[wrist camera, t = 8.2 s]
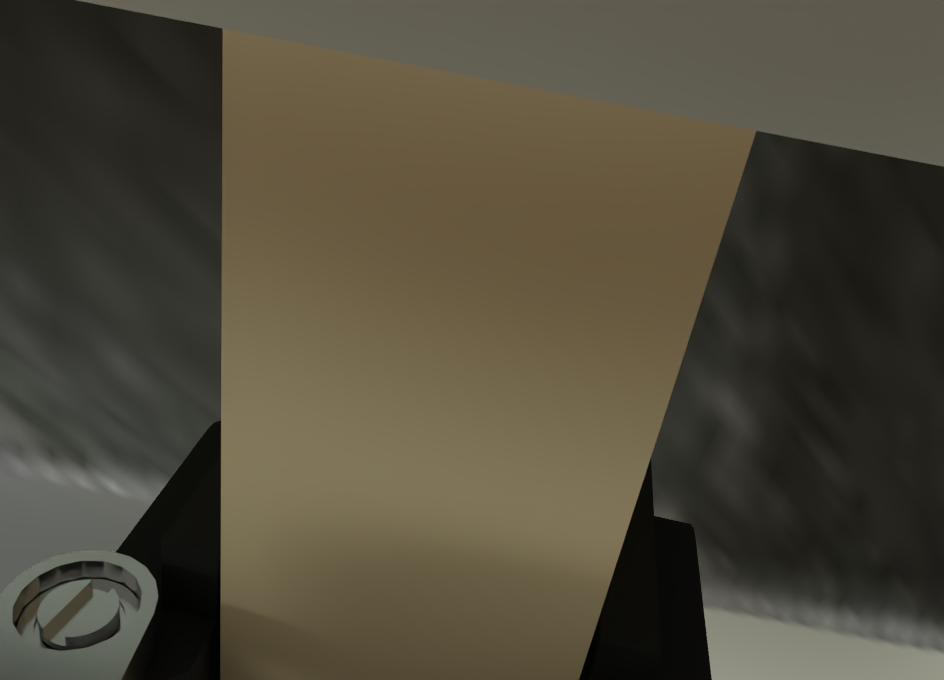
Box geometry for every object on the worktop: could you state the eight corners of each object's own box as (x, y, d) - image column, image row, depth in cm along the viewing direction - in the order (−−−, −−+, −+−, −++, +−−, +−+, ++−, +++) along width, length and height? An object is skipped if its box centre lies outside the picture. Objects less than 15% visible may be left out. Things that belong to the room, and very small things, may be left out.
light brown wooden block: (591, 766, 17) (577, 1172, 12) (243, 685, 17) (79, 1043, 12) (907, -104, 9) (1273, -40, 4) (264, -216, 10) (-160, -292, 4)
